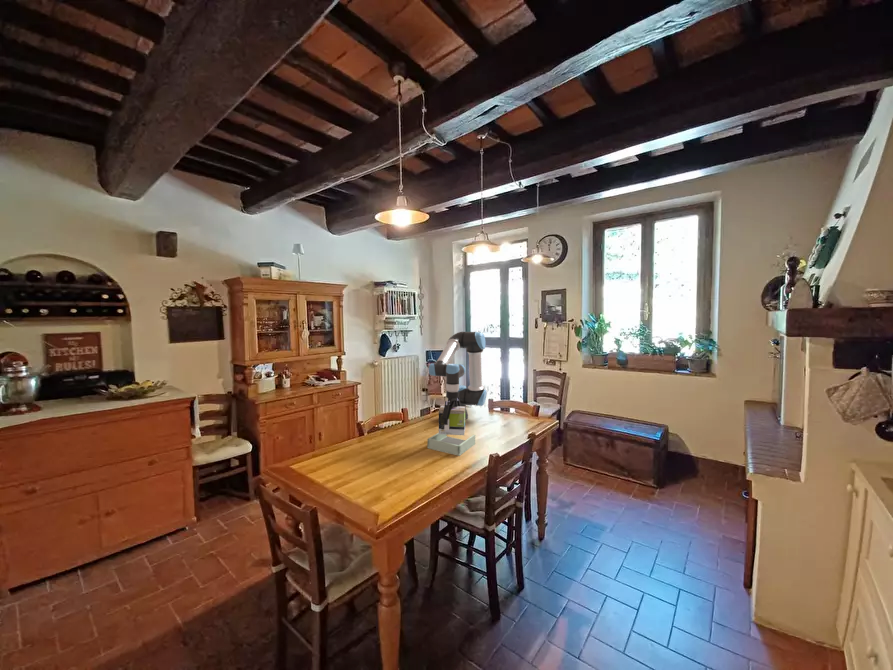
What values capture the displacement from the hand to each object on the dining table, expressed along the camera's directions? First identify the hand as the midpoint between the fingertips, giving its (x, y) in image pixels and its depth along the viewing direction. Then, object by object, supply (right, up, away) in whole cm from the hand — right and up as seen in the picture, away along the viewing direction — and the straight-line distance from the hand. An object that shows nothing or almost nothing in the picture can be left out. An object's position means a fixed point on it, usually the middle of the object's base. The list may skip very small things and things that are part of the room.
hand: (452, 426), depth 214 cm
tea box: (0, -4, 0) cm, 4 cm away
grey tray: (0, -11, +1) cm, 12 cm away
